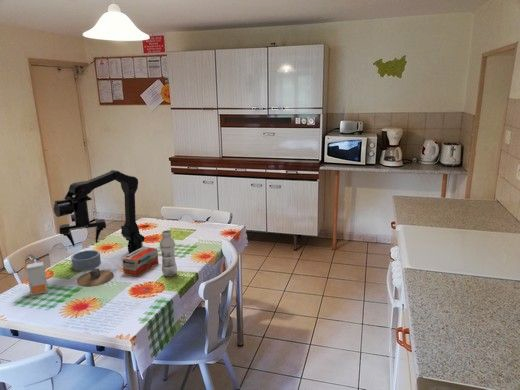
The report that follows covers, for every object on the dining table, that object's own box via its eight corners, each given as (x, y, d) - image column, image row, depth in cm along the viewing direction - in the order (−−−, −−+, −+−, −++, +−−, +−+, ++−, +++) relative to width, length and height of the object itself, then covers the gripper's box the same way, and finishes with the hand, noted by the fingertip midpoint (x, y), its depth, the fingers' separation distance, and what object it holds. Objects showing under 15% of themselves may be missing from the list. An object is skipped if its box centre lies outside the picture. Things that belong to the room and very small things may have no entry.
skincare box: (30, 295, 152) (25, 268, 150) (31, 291, 156) (26, 264, 153) (47, 292, 155) (43, 265, 152) (48, 287, 159) (43, 261, 156)
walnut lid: (118, 270, 175) (117, 262, 174) (108, 286, 160) (107, 277, 159) (84, 272, 173) (83, 263, 172) (71, 288, 159) (69, 278, 158)
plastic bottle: (180, 272, 171) (177, 230, 166) (172, 278, 165) (168, 235, 160) (167, 270, 173) (164, 228, 168) (159, 277, 167) (155, 233, 162)
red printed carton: (144, 261, 184) (143, 245, 182) (158, 263, 181) (157, 247, 179) (123, 274, 171) (121, 257, 169) (138, 277, 168) (136, 260, 166)
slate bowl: (103, 259, 187) (102, 249, 186) (95, 269, 175) (94, 259, 174) (78, 260, 186) (77, 250, 185) (68, 271, 174) (67, 260, 173)
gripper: (102, 204, 180) (105, 235, 183) (57, 209, 172) (62, 242, 175) (104, 210, 170) (108, 243, 174) (57, 216, 162) (62, 250, 166)
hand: (85, 244), depth 172 cm, fingers open, 9 cm apart
